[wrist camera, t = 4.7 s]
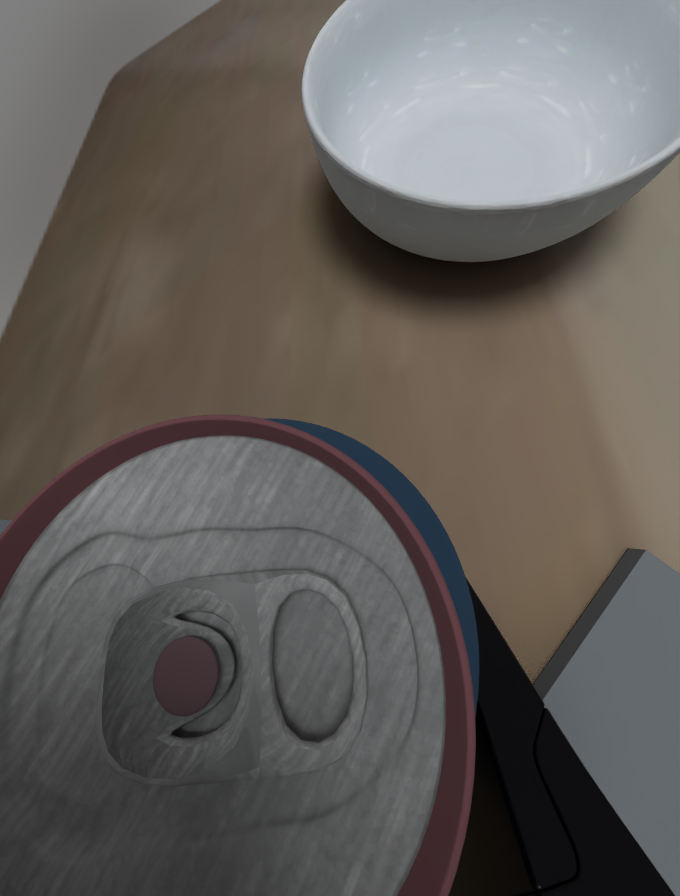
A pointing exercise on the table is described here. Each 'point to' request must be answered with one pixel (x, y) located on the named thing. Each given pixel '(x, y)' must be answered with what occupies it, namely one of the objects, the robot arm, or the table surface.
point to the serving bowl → (492, 117)
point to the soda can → (233, 672)
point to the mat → (627, 701)
